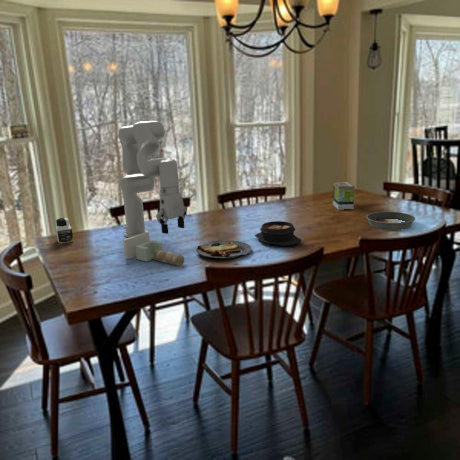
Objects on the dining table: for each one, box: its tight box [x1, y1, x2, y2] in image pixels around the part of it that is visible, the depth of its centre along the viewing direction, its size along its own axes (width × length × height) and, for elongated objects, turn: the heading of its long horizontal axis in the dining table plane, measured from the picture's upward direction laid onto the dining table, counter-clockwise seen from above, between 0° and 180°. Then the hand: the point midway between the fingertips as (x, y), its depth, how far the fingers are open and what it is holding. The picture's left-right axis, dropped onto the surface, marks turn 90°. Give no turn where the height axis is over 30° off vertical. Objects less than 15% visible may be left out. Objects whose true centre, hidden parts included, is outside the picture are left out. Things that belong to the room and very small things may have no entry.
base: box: [122, 231, 150, 260], centre depth 206 cm, size 2×14×9 cm, turn 143°
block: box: [135, 239, 164, 262], centre depth 202 cm, size 6×10×6 cm, turn 143°
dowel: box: [153, 250, 185, 267], centre depth 195 cm, size 14×5×5 cm, turn 53°
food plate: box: [196, 240, 252, 259], centre depth 206 cm, size 25×23×4 cm
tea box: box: [332, 181, 356, 211], centre depth 278 cm, size 15×10×15 cm, turn 179°
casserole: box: [254, 220, 302, 247], centre depth 217 cm, size 25×19×8 cm
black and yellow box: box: [55, 217, 74, 244], centre depth 231 cm, size 7×7×12 cm
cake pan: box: [365, 211, 416, 231], centre depth 238 cm, size 25×25×4 cm
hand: (173, 230), depth 189 cm, fingers open, 9 cm apart
